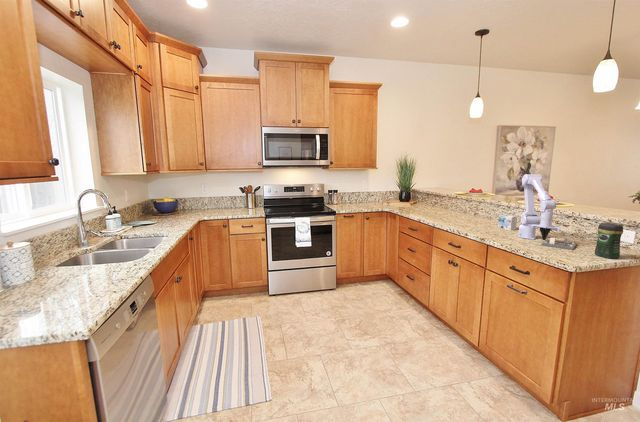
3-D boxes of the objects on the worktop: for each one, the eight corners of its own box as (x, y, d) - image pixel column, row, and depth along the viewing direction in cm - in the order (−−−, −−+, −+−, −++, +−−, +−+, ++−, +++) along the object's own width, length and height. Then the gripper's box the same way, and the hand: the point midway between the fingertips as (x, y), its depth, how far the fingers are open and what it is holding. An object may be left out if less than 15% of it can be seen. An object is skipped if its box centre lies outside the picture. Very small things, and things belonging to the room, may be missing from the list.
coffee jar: (622, 259, 157) (628, 225, 154) (609, 259, 156) (615, 225, 153) (603, 253, 166) (607, 221, 163) (591, 254, 165) (595, 222, 162)
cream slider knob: (563, 242, 185) (564, 237, 185) (564, 242, 187) (565, 236, 187) (568, 243, 183) (569, 237, 183) (569, 242, 185) (570, 237, 185)
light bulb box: (497, 228, 237) (498, 214, 235) (502, 227, 239) (504, 214, 238) (510, 230, 227) (512, 217, 225) (516, 229, 230) (517, 216, 228)
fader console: (541, 245, 184) (541, 242, 184) (547, 240, 196) (547, 237, 196) (572, 250, 173) (573, 247, 173) (576, 244, 186) (577, 241, 185)
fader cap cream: (549, 243, 184) (550, 237, 183) (550, 242, 186) (550, 237, 185) (554, 244, 182) (554, 238, 182) (555, 243, 184) (555, 237, 184)
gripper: (531, 218, 187) (528, 238, 189) (560, 221, 177) (557, 243, 179) (533, 217, 192) (531, 237, 194) (561, 219, 182) (559, 241, 184)
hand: (544, 239), depth 187 cm, fingers closed
